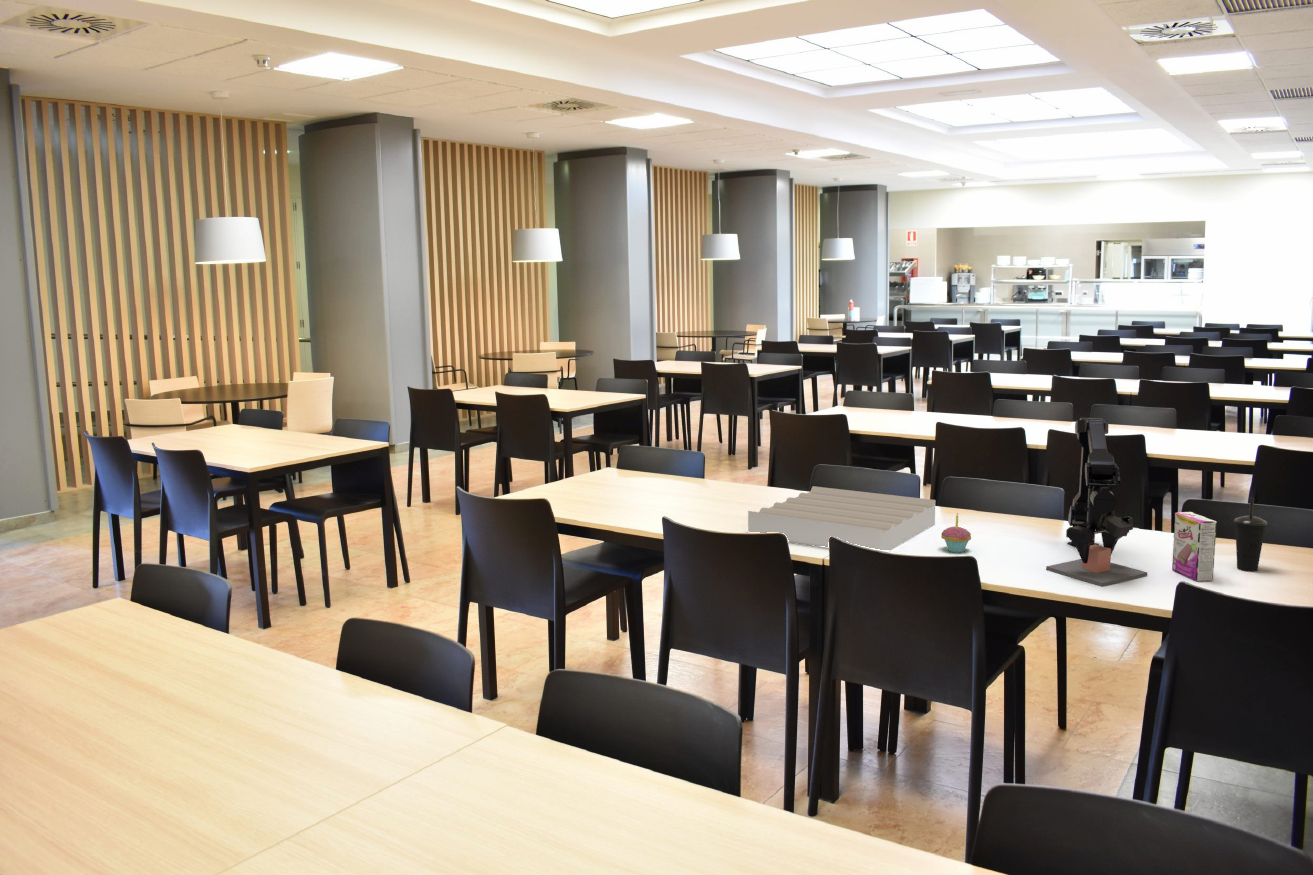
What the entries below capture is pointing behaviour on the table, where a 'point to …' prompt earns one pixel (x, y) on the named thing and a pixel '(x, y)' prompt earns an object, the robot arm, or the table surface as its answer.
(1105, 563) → the red block
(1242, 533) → the drinking cup
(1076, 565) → the mat
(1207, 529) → the candy bar box
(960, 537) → the cupcake
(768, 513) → the tray
